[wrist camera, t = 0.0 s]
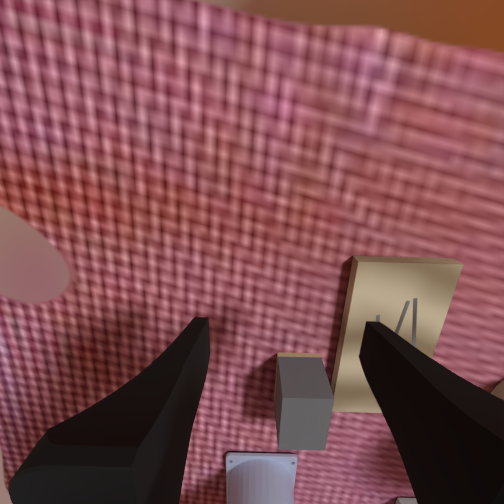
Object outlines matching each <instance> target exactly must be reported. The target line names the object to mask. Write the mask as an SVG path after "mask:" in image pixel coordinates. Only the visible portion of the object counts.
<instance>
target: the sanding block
mask: <svg viewBox="0 0 504 504" xmlns="http://www.w3.org/2000/svg"><path fill="white" fill-rule="evenodd" d="M274 403H275V416H276V429H277V441H278V449H287V450H325V447H326V442H327V437H328V431H329V426H330V420H331V415H332V409H333V404H334V396H333V393H332V390H331V387H330V384H329V380H328V377H327V374H326V371H325V368H324V364H323V361H322V358H321V355H320V353H277V367H276V380H275V394H274Z"/></svg>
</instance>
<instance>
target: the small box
mask: <svg viewBox="0 0 504 504" xmlns="http://www.w3.org/2000/svg"><path fill="white" fill-rule="evenodd" d="M395 504H418V503H417V500H416V498H401V497H398V498H397V500H396V503H395Z"/></svg>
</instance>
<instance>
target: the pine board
mask: <svg viewBox="0 0 504 504" xmlns="http://www.w3.org/2000/svg"><path fill="white" fill-rule="evenodd" d="M462 267H463V264H462V263H460V262H459V261H457V260H455V259H453V258H424V257H382V256H353V260H352V265H351V271H350V277H349V283H348V289H347V294H346V300H345V306H344V312H343V317H342V323H341V329H340V335H339V341H338V346H337V352H336V358H335V364H334V370H333V375H332V381H331V390H332V393H333V396H334V404H333V409H332V412H373V413H382V411H381V409H380V407H379V405H378V403H377V401H376V399H375V397H374V395H373V393H372V391H371V388H370V386H369V384H368V382H367V380H366V378H365V375H364V372H363V369H362V366H361V363H360V360H359V353H360V348H361V343H362V338H363V334H364V329H365V324H366V321H375V322H381V323H382V324H384V325H385V326H387V327H388V328H390V329H391V330H392V331H394V332H395V333H397V334H398V335H399V336H401V337H402V338H403V339H405V340H406V341H407V342H409V343H410V344H412V345H413V346H414V347H416V348H417V349H418V350H420V351H421V352H423V353H424V354H426V355H427V356H428V357H430V358H431V359H432V356H433V353H434V350H435V347H436V344H437V341H438V338H439V335H440V332H441V329H442V326H443V323H444V320H445V317H446V314H447V311H448V308H449V305H450V303H451V300H452V297H453V294H454V291H455V288H456V285H457V282H458V279H459V276H460V273H461V270H462Z"/></svg>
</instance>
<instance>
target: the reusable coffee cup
mask: <svg viewBox="0 0 504 504" xmlns="http://www.w3.org/2000/svg"><path fill="white" fill-rule="evenodd" d="M491 394H492V395H494V396H496V397H498V398H500V399H502V400H504V380H502V381H501V382H500V383H499V384H498V385H497V386H496V387H495V388H494V389H493V391H492V392H491Z"/></svg>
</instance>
